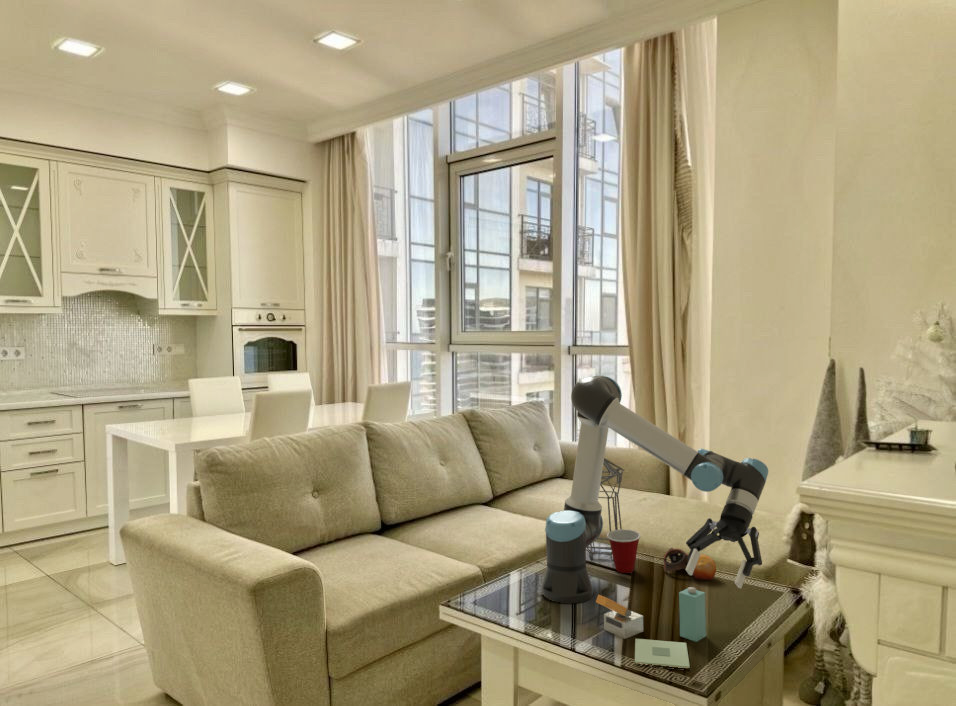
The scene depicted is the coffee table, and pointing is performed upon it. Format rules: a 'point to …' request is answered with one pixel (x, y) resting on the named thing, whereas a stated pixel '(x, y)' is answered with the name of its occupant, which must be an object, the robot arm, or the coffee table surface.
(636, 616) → the box
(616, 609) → the lever
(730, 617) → the coffee table surface
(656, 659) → the pad
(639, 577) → the coffee table surface
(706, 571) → the fruit
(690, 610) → the teal tall block
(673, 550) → the pottery mug
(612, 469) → the geometric lantern
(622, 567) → the plastic cup
